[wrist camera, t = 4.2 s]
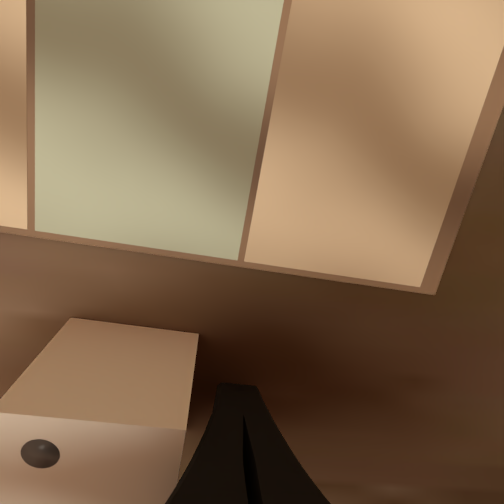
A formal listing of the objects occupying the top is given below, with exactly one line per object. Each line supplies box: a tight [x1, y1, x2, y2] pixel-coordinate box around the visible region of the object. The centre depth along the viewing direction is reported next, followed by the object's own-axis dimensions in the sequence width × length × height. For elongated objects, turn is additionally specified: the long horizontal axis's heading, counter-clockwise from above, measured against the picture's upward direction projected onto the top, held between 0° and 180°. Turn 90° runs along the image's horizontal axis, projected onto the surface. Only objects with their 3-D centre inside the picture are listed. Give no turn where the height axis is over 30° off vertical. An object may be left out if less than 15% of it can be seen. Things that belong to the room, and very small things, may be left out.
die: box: [0, 317, 199, 504], centre depth 10 cm, size 4×4×4 cm
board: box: [0, 0, 504, 295], centre depth 9 cm, size 9×19×1 cm, turn 80°
